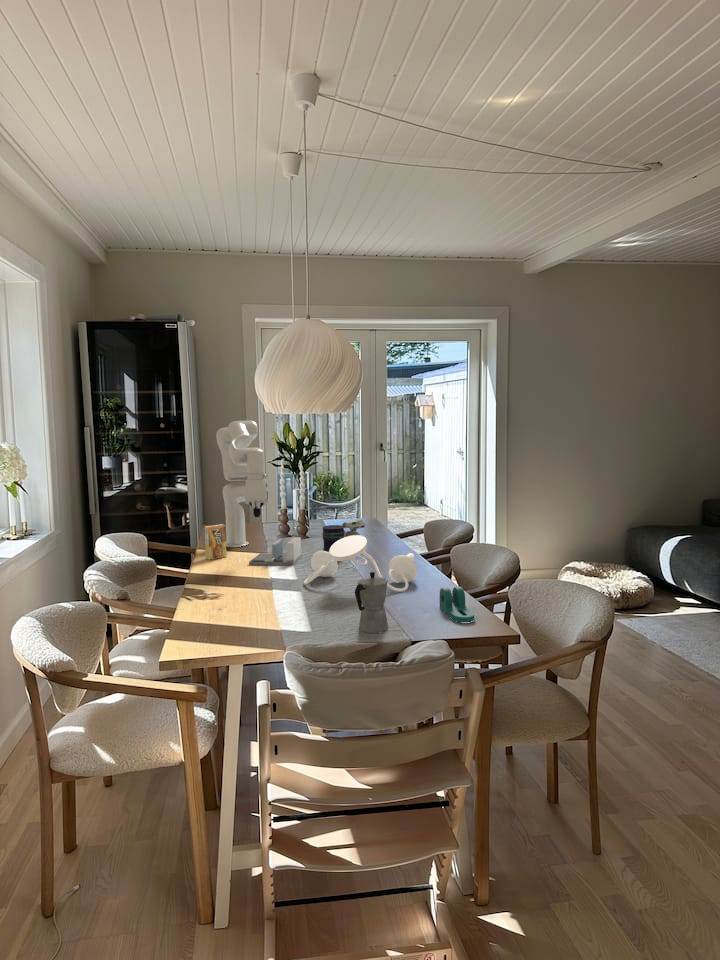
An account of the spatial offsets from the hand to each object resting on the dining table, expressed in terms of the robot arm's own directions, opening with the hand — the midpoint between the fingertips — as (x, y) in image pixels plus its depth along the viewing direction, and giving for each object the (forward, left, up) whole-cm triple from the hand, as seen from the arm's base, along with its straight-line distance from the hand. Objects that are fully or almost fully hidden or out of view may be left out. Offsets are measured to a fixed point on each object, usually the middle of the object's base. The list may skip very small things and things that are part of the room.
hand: (257, 516), depth 310 cm
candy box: (-4, -22, -21) cm, 30 cm away
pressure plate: (+2, +9, -18) cm, 20 cm away
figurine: (-21, +41, -20) cm, 50 cm away
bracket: (+76, +90, -21) cm, 120 cm away
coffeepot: (+93, +63, -20) cm, 115 cm away
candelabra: (+38, +51, -21) cm, 67 cm away
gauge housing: (0, +8, -20) cm, 22 cm away
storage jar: (-4, +34, -20) cm, 40 cm away
